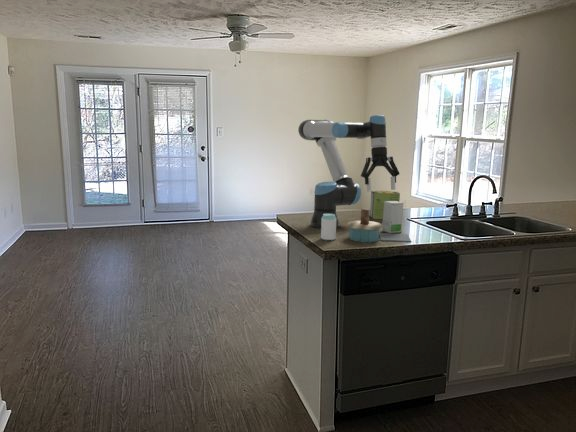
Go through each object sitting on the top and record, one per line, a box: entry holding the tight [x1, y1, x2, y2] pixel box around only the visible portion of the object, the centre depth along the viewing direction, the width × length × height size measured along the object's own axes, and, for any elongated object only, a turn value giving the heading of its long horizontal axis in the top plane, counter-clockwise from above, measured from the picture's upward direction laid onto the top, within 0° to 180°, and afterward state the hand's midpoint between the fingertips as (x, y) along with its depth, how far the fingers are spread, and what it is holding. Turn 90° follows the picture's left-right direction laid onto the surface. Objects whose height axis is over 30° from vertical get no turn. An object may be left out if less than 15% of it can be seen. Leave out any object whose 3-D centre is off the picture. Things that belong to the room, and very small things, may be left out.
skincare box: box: [381, 201, 404, 234], centre depth 245 cm, size 8×7×16 cm
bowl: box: [348, 227, 380, 243], centre depth 229 cm, size 14×14×6 cm
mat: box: [379, 232, 412, 243], centre depth 232 cm, size 14×14×1 cm
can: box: [320, 214, 337, 241], centre depth 226 cm, size 7×7×12 cm
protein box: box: [369, 190, 401, 220], centre depth 282 cm, size 10×15×16 cm
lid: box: [347, 208, 382, 230], centre depth 228 cm, size 16×16×8 cm
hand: (381, 190), depth 234 cm, fingers open, 13 cm apart
